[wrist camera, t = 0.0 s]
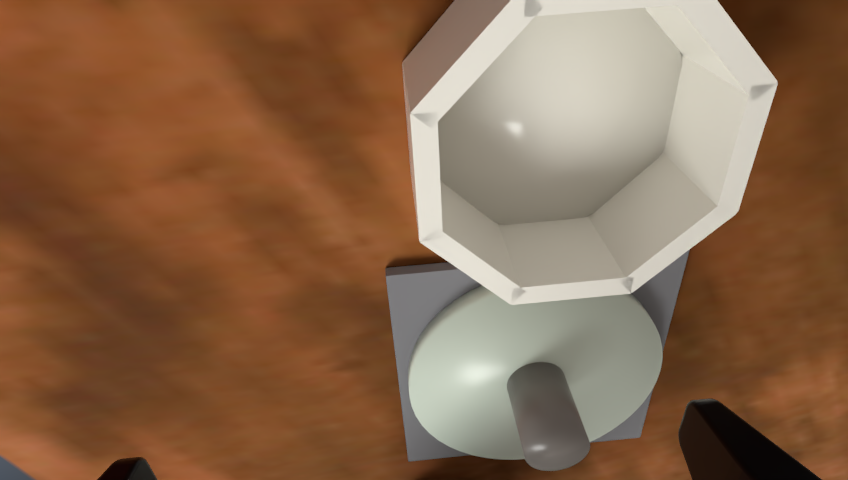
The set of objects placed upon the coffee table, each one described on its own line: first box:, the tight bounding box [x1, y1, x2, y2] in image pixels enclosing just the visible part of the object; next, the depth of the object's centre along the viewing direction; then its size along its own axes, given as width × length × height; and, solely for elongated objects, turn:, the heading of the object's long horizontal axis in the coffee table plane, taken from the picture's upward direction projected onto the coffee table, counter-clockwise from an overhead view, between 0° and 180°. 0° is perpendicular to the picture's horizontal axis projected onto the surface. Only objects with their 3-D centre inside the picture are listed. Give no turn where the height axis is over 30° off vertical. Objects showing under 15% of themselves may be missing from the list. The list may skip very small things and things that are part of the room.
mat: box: [386, 249, 690, 462], centre depth 29 cm, size 14×14×1 cm
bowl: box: [402, 0, 778, 305], centre depth 20 cm, size 11×11×5 cm
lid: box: [408, 285, 663, 471], centre depth 27 cm, size 13×13×5 cm
